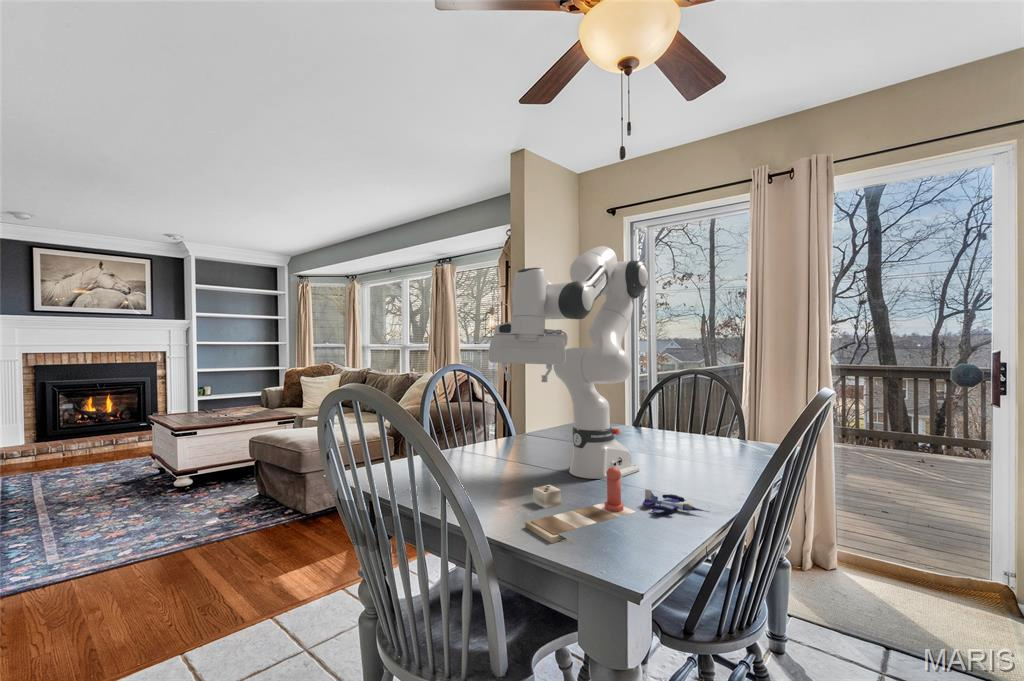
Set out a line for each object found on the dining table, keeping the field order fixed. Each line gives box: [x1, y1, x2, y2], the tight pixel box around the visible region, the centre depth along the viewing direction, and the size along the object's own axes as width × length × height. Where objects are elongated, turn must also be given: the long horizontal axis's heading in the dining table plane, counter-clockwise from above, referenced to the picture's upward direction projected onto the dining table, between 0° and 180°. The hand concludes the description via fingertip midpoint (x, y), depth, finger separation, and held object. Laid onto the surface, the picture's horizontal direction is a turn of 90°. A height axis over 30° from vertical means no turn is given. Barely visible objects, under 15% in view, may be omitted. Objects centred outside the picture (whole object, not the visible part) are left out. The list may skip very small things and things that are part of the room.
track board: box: [524, 502, 637, 544], centre depth 111 cm, size 26×10×1 cm, turn 121°
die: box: [532, 484, 562, 509], centre depth 120 cm, size 5×5×5 cm
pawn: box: [604, 467, 625, 512], centre depth 115 cm, size 4×4×10 cm
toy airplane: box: [641, 489, 710, 515], centre depth 114 cm, size 13×14×4 cm
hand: (526, 381), depth 126 cm, fingers open, 8 cm apart
